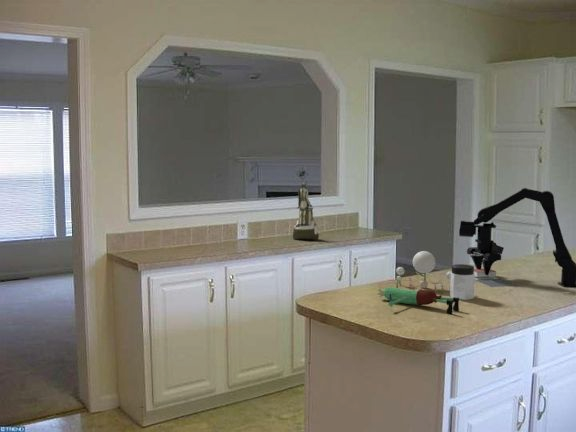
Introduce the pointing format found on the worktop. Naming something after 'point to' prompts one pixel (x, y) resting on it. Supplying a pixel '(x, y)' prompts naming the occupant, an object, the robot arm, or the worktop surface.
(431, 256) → the figurines
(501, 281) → the mat
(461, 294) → the jar
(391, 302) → the toy
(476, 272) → the card deck
